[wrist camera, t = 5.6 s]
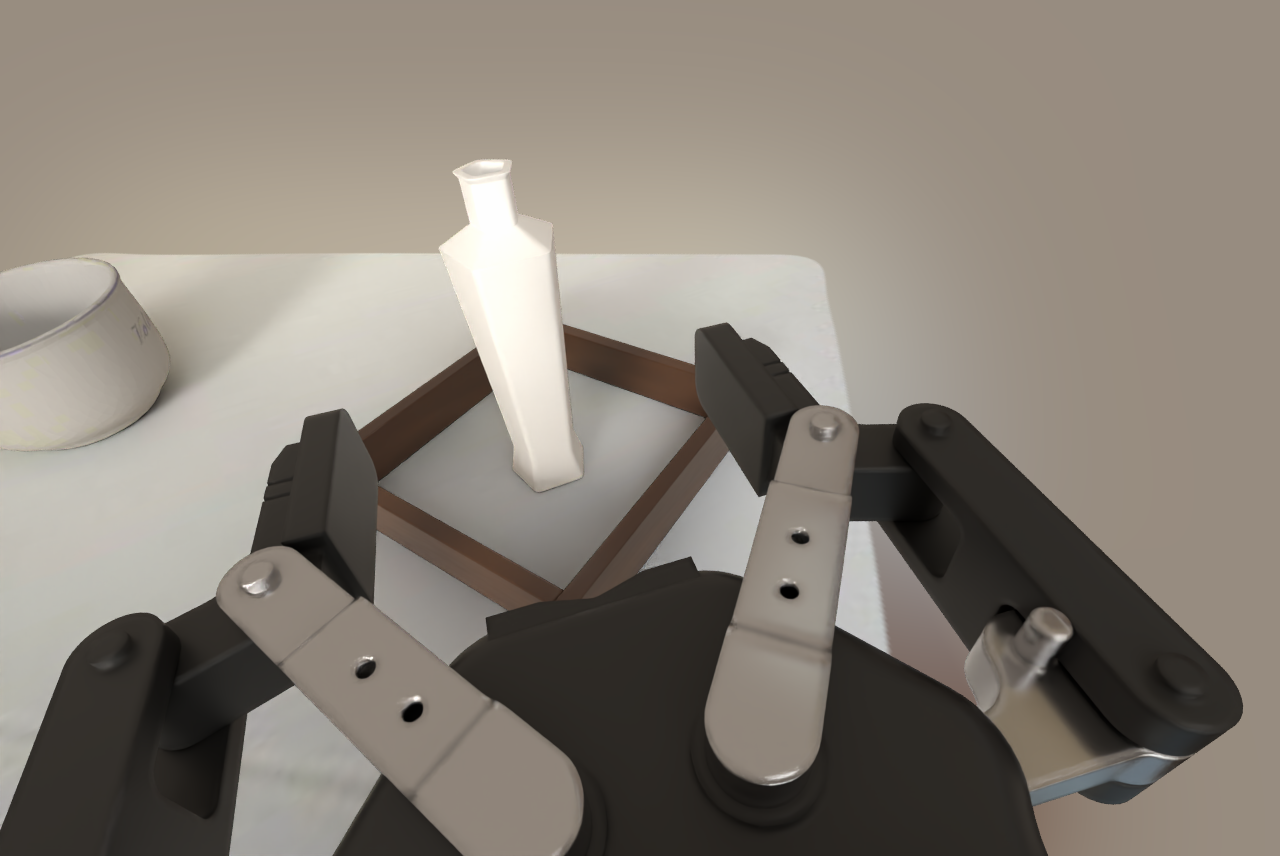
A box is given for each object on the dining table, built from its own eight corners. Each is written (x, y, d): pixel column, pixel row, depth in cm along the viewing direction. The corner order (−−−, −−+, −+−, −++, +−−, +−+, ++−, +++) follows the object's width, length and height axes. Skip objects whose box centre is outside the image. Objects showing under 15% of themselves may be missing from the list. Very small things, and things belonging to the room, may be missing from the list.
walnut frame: (333, 503, 30) (309, 464, 28) (533, 348, 40) (525, 311, 38) (577, 654, 23) (567, 615, 21) (749, 423, 33) (753, 382, 31)
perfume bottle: (578, 424, 34) (528, 139, 24) (605, 475, 30) (561, 172, 20) (498, 449, 32) (411, 161, 22) (517, 504, 29) (426, 199, 19)
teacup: (229, 389, 38) (154, 274, 33) (41, 506, 31) (-93, 384, 26) (114, 342, 44) (33, 237, 38) (-69, 432, 37) (-198, 320, 31)
